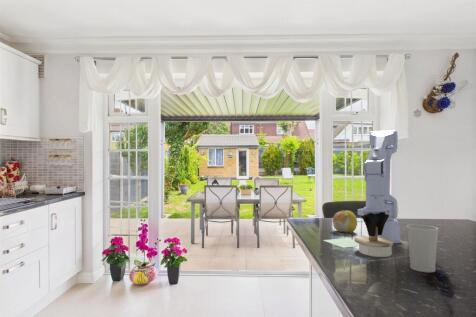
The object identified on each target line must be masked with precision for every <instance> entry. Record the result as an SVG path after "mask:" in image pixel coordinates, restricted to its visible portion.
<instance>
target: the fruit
mask: <svg viewBox="0 0 476 317" xmlns="http://www.w3.org/2000/svg"><path fill="white" fill-rule="evenodd" d="M332 225H333V226H332V227H333V228H334V229H335V230H336V231H338V232H339V233H344V234H345V233H346V234H352V233H353V232H354V231H355V230H356V229H357V227H358V219H357V216H356V215H355V213H354V212H353V211H352V210H339V211H337V212H336V213H335V214H334V215H333V217H332Z"/></svg>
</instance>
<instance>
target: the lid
mask: <svg viewBox="0 0 476 317" xmlns="http://www.w3.org/2000/svg"><path fill="white" fill-rule="evenodd" d="M353 240H354V241H355V242H357V243H359V244H362V245H366V246H372V247H390V246H394V245H393V244H394V243H393V242H392V241H391V240H389V239H386V238H382V237H378V227H376V233H375V236H369V235H357V236H354V239H353Z"/></svg>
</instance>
